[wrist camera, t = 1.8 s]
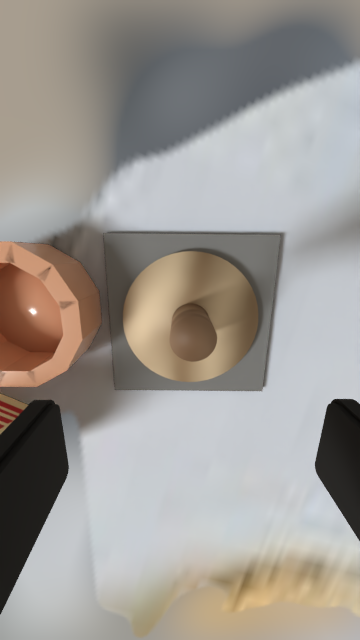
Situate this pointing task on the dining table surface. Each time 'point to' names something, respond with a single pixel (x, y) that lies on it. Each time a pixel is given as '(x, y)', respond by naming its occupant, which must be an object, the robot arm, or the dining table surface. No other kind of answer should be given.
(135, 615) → the dining table surface
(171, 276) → the lid
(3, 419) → the milk carton
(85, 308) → the bowl
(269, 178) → the dining table surface
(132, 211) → the dining table surface
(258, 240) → the mat
